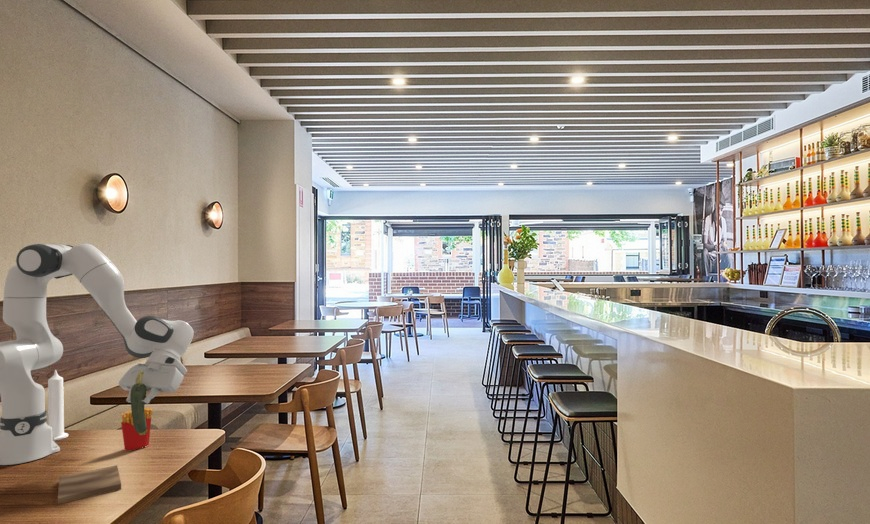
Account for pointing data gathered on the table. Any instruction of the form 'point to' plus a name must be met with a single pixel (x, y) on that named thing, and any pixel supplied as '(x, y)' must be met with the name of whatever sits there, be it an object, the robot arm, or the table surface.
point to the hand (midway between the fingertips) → (136, 402)
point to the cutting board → (88, 484)
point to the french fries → (130, 435)
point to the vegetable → (138, 405)
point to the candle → (56, 406)
